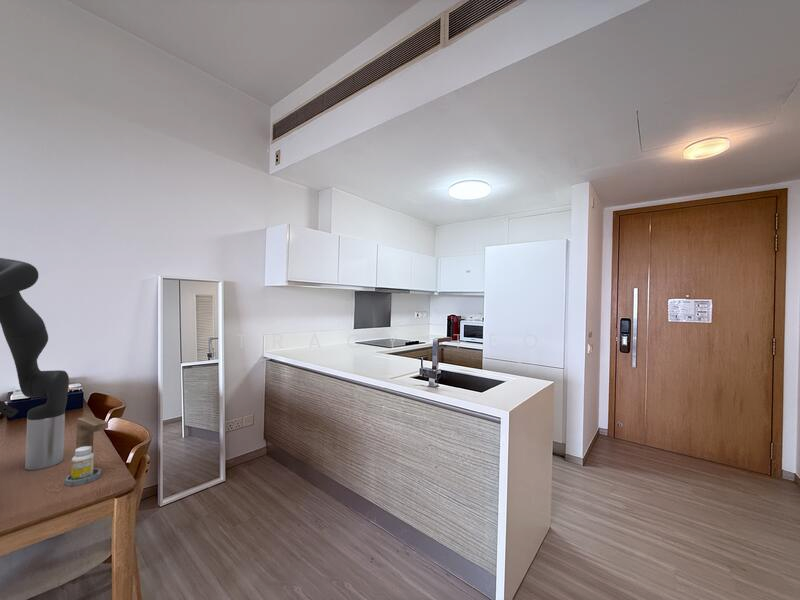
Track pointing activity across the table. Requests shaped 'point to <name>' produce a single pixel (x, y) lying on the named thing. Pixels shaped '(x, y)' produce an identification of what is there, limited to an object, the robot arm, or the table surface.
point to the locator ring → (82, 481)
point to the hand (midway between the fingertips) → (9, 411)
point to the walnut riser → (88, 430)
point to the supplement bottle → (82, 463)
